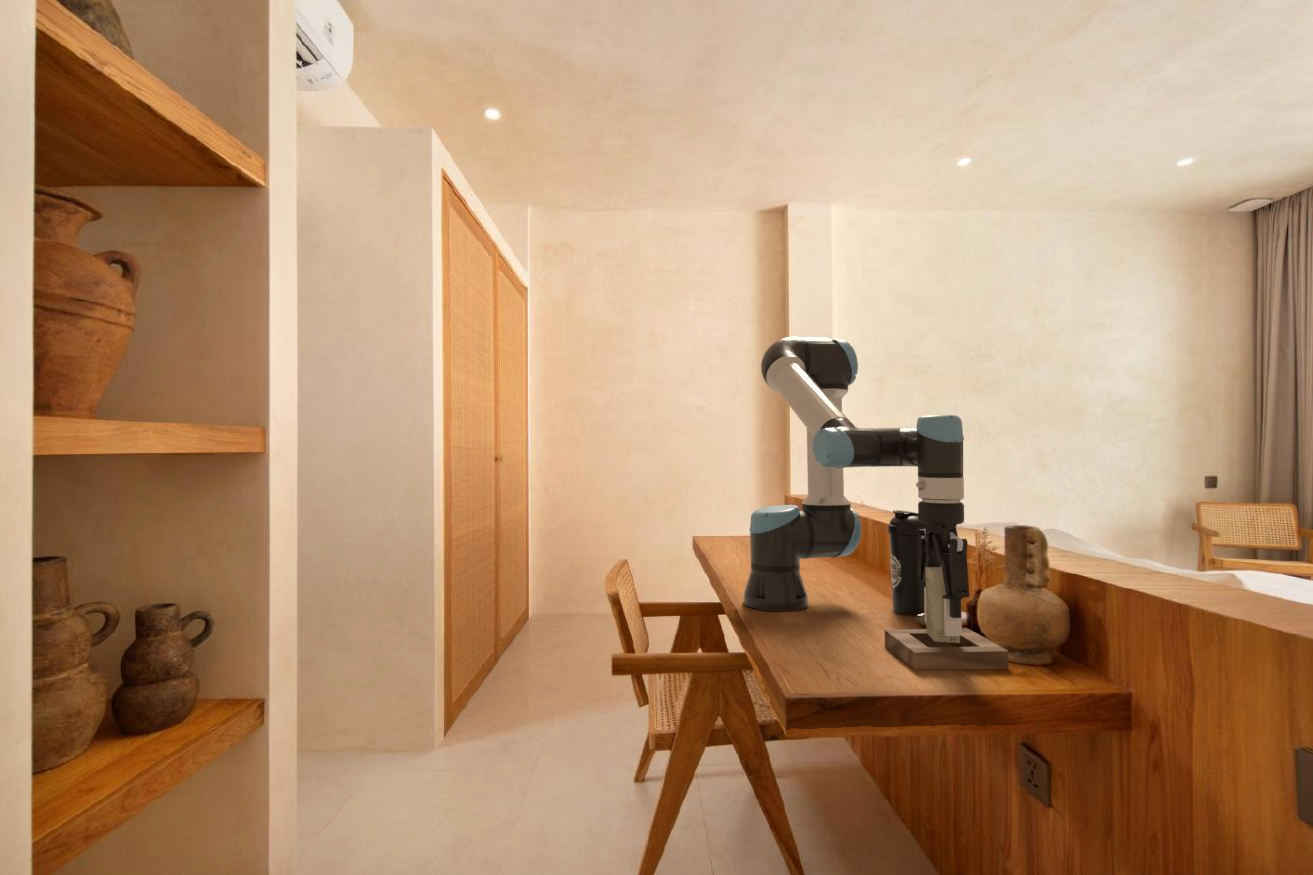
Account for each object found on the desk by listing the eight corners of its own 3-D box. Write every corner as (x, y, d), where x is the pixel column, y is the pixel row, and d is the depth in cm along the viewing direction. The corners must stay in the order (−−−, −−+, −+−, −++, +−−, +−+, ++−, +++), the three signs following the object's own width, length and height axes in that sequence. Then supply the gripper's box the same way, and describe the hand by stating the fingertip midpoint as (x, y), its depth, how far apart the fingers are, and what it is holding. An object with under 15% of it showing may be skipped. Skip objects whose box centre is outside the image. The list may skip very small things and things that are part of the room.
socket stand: (884, 645, 117) (884, 629, 117) (968, 644, 117) (968, 628, 117) (914, 670, 104) (914, 652, 104) (1008, 668, 104) (1008, 651, 104)
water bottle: (884, 605, 147) (883, 508, 147) (929, 606, 145) (928, 508, 146) (894, 616, 137) (893, 512, 137) (943, 618, 135) (941, 513, 136)
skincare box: (960, 644, 107) (960, 574, 107) (933, 642, 108) (933, 573, 108) (950, 632, 114) (950, 566, 114) (925, 631, 114) (924, 565, 114)
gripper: (897, 496, 121) (899, 614, 121) (946, 506, 101) (949, 647, 101) (935, 496, 121) (937, 613, 121) (992, 505, 101) (994, 646, 101)
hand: (942, 628), depth 111 cm, fingers closed on skincare box, 7 cm apart
